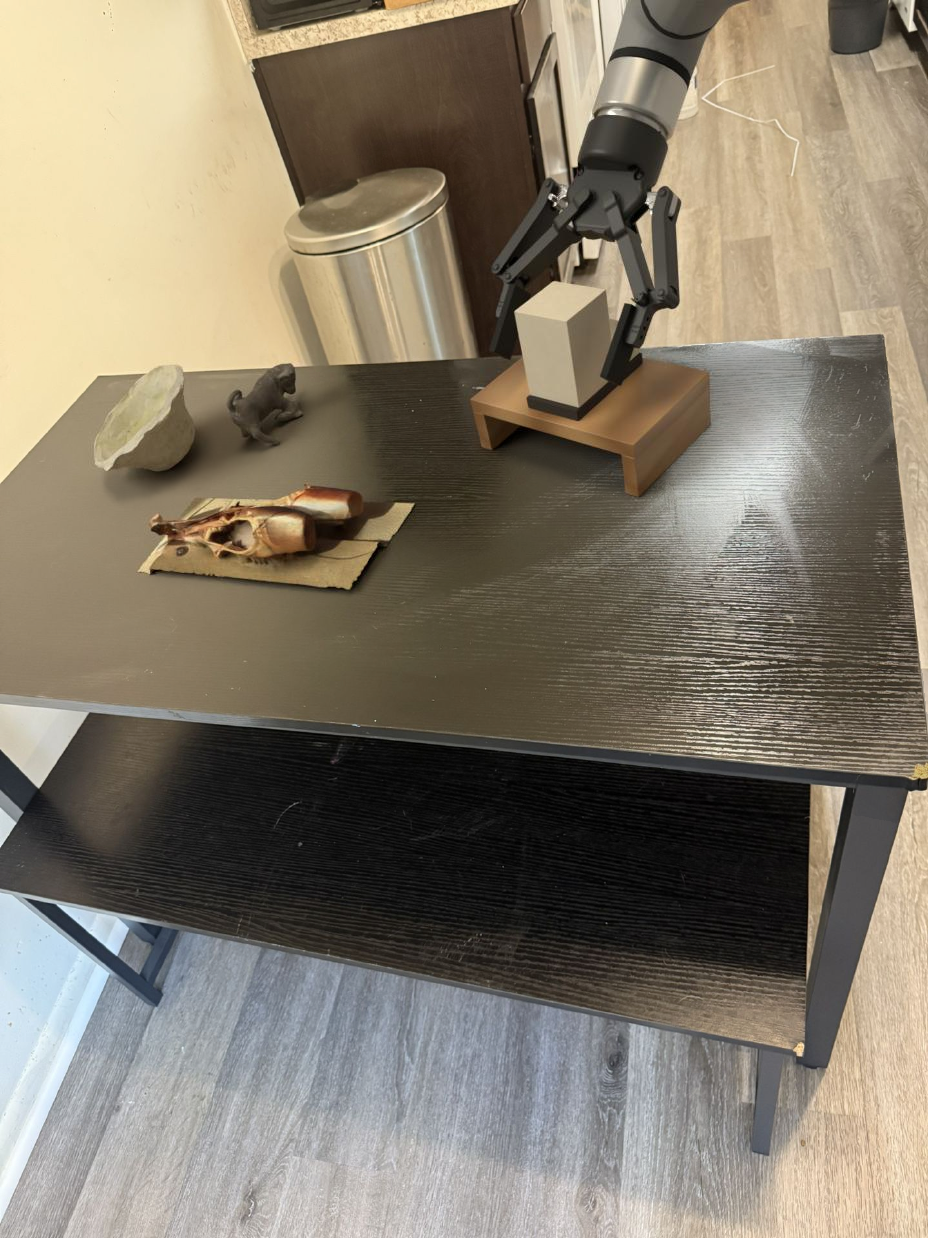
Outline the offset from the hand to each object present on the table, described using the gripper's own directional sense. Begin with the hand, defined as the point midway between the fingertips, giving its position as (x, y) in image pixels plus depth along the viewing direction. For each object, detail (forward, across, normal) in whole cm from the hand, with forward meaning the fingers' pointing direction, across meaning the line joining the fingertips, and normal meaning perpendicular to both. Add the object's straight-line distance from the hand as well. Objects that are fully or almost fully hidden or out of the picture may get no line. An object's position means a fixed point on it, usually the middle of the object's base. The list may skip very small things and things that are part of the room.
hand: (552, 368), depth 81 cm
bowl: (+23, +46, +7) cm, 52 cm away
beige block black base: (0, 0, -6) cm, 6 cm away
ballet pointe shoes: (+25, +20, +10) cm, 33 cm away
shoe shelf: (+4, 0, -11) cm, 11 cm away
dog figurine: (+14, +38, -1) cm, 40 cm away
